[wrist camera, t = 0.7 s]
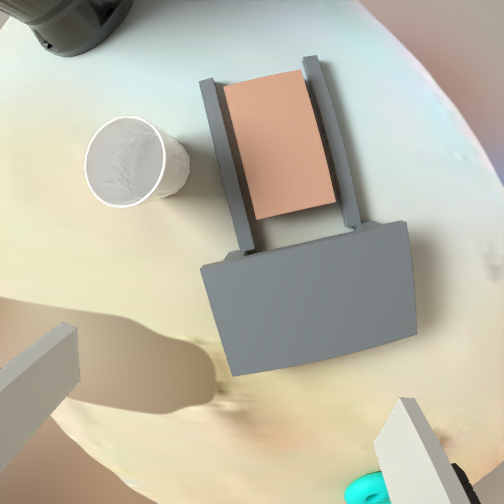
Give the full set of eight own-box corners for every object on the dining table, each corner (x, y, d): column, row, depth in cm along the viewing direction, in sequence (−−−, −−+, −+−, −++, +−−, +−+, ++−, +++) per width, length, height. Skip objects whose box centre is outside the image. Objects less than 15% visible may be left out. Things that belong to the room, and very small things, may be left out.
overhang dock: (172, 95, 32) (155, 79, 26) (344, 56, 30) (355, 35, 24) (238, 351, 37) (232, 376, 32) (399, 314, 35) (416, 334, 30)
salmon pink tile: (227, 95, 32) (223, 86, 29) (298, 79, 31) (300, 69, 28) (258, 217, 34) (256, 219, 31) (330, 200, 33) (335, 201, 30)
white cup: (186, 123, 33) (154, 101, 23) (204, 190, 34) (177, 191, 24) (124, 147, 34) (77, 136, 24) (140, 211, 35) (96, 220, 25)
